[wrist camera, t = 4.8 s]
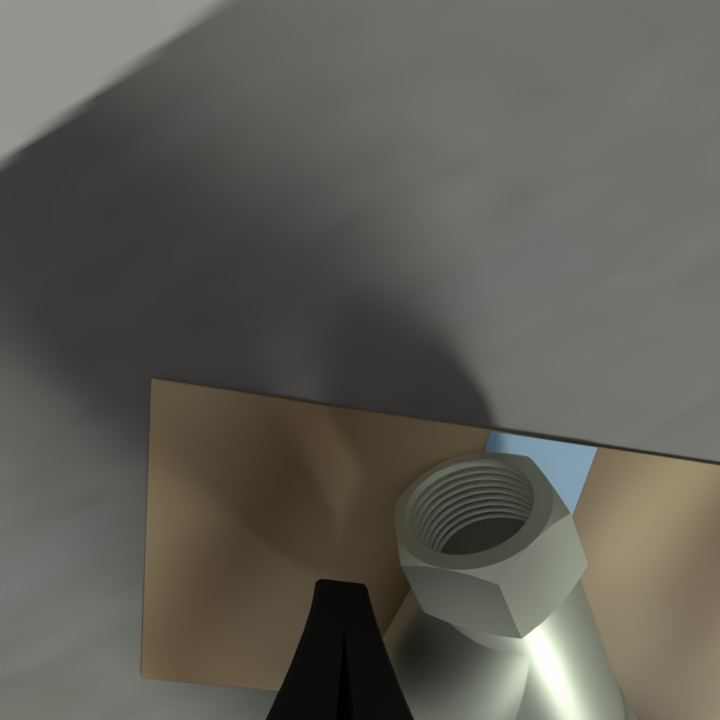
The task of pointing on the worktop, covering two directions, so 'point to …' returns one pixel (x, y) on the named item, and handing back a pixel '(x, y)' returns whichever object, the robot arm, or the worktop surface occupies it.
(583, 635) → the pipe fitting
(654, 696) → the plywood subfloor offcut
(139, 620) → the worktop surface
